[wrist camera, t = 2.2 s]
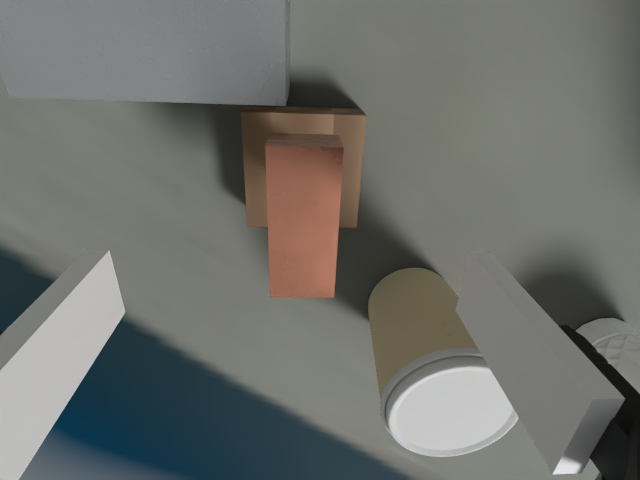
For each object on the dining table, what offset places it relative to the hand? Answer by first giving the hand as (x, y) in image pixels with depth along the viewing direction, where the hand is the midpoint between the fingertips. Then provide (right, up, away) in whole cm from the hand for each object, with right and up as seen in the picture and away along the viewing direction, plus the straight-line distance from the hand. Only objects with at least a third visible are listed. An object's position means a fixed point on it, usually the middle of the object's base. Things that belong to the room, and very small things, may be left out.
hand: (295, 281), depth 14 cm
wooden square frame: (0, +7, +14) cm, 16 cm away
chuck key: (0, +7, +14) cm, 16 cm away
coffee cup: (+9, -4, +21) cm, 23 cm away
